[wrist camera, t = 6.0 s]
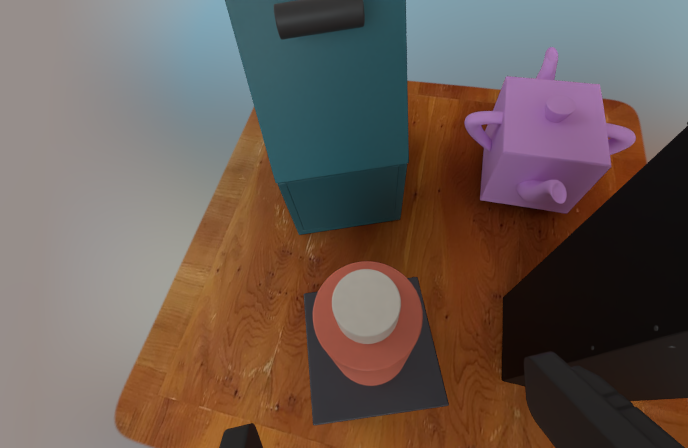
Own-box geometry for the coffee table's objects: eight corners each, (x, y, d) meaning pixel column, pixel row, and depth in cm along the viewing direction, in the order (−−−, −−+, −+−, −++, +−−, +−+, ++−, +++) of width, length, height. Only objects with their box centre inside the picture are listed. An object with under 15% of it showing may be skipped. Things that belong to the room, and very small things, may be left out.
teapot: (615, 199, 38) (695, 127, 28) (517, 253, 36) (567, 195, 26) (519, 114, 45) (557, 34, 35) (432, 155, 43) (448, 82, 33)
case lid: (222, -20, 22) (202, -19, 18) (402, -48, 22) (423, -54, 18) (276, 179, 30) (271, 210, 26) (406, 159, 30) (421, 187, 26)
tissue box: (599, 404, 29) (1838, 345, 4) (500, 382, 30) (1020, 241, 6) (589, 312, 32) (1241, -2, 8) (501, 296, 34) (826, -13, 9)
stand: (338, 421, 30) (312, 425, 18) (330, 338, 33) (303, 293, 21) (419, 409, 30) (449, 405, 17) (402, 327, 33) (417, 276, 21)
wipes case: (292, 145, 46) (273, 82, 37) (379, 131, 46) (380, 66, 37) (298, 235, 39) (277, 184, 30) (400, 219, 39) (407, 164, 30)
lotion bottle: (337, 391, 18) (310, 375, 11) (328, 312, 20) (302, 254, 13) (415, 379, 18) (442, 355, 11) (399, 302, 20) (412, 238, 13)
